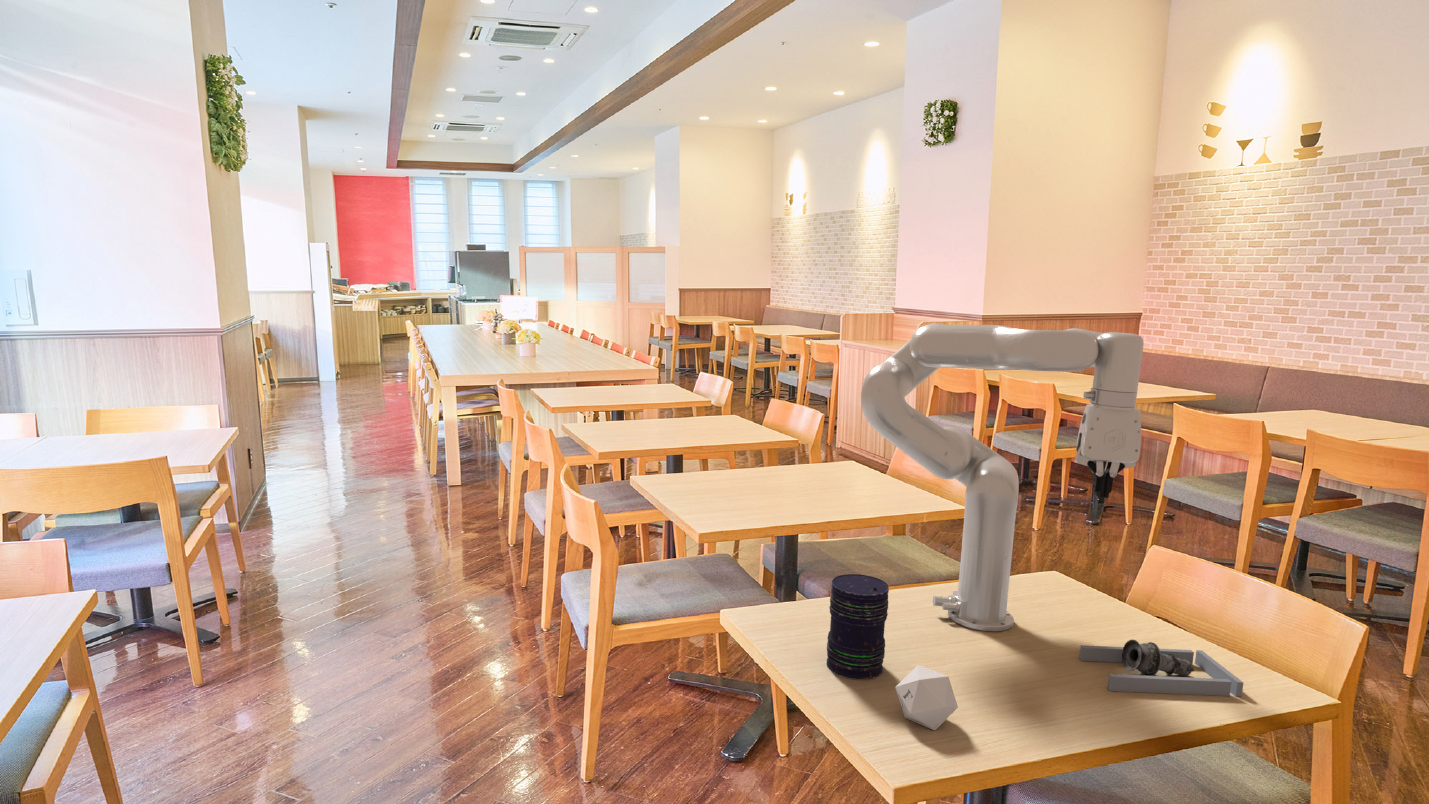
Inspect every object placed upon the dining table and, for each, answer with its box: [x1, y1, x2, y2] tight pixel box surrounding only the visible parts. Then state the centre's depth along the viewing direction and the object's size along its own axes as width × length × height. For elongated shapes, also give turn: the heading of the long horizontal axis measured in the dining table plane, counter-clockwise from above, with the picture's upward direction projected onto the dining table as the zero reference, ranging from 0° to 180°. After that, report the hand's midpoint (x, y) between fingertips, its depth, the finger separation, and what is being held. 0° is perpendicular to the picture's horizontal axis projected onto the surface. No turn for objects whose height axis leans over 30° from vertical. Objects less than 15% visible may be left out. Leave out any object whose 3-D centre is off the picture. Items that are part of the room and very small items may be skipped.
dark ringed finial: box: [1121, 639, 1195, 677], centre depth 144 cm, size 6×6×12 cm
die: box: [895, 664, 959, 731], centre depth 125 cm, size 8×9×10 cm
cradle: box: [1078, 644, 1244, 698], centre depth 143 cm, size 22×12×2 cm, turn 90°
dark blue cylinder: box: [826, 573, 890, 681], centre depth 141 cm, size 10×10×15 cm
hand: (1100, 495), depth 154 cm, fingers closed
